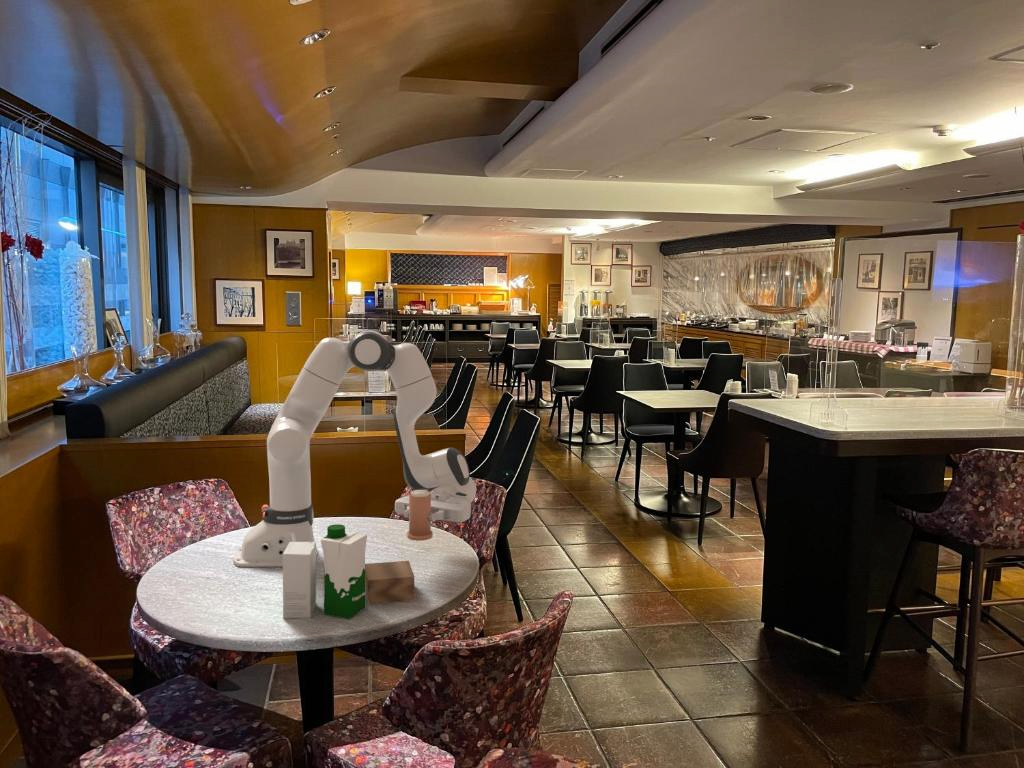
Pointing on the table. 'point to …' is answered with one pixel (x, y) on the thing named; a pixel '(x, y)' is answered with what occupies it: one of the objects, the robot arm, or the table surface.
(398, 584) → the block
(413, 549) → the table surface
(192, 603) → the table surface
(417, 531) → the canister
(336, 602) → the milk carton
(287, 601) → the skincare box
